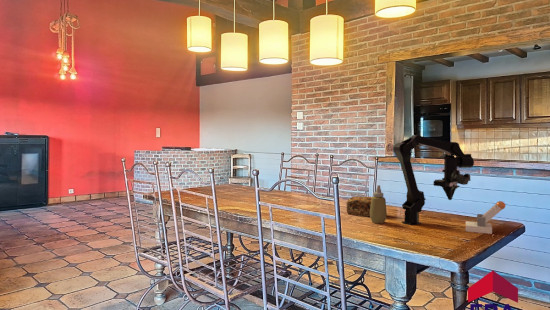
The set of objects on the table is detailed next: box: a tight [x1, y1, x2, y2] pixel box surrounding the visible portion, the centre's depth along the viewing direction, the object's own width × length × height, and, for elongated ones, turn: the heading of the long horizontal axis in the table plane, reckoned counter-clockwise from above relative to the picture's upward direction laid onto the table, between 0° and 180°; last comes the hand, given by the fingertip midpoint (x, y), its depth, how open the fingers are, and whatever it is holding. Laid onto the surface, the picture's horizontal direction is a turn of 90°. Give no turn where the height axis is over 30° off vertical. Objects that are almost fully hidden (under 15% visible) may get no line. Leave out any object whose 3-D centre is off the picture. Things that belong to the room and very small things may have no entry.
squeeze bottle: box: [369, 185, 388, 224], centre depth 180 cm, size 8×8×18 cm
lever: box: [481, 200, 506, 224], centre depth 162 cm, size 4×5×14 cm
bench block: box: [465, 213, 493, 235], centre depth 165 cm, size 10×10×6 cm
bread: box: [346, 196, 373, 217], centre depth 199 cm, size 19×11×10 cm, turn 55°
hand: (450, 199), depth 180 cm, fingers closed
